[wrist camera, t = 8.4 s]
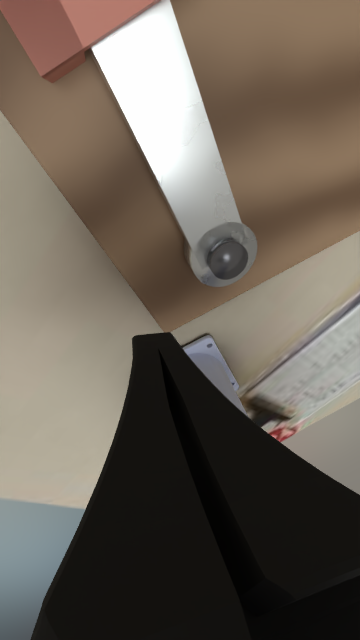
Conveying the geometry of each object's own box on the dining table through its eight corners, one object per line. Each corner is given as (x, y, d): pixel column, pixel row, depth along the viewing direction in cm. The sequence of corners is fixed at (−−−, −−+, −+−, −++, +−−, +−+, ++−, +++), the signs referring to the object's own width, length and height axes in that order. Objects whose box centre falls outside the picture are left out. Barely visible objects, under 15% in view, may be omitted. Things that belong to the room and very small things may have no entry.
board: (385, 206, 20) (397, 210, 19) (163, 326, 22) (165, 334, 21) (456, -511, 7) (501, -587, 6) (-119, -63, 9) (-139, -79, 8)
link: (251, 253, 18) (269, 271, 16) (198, 283, 18) (210, 303, 16) (115, -165, 8) (123, -250, 6) (6, -77, 8) (-20, -132, 6)
